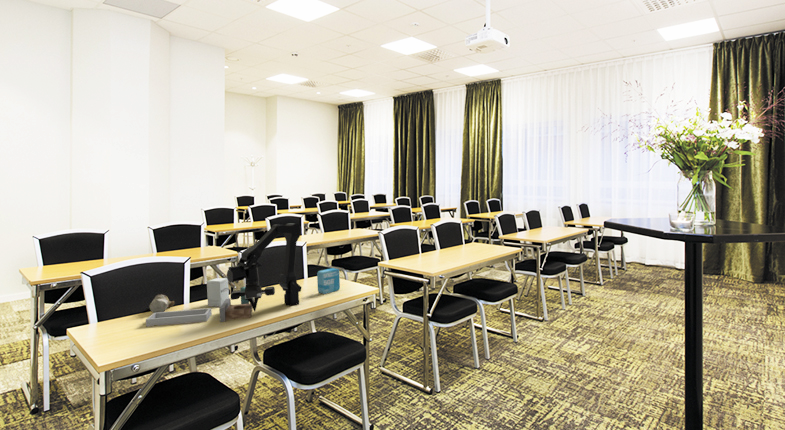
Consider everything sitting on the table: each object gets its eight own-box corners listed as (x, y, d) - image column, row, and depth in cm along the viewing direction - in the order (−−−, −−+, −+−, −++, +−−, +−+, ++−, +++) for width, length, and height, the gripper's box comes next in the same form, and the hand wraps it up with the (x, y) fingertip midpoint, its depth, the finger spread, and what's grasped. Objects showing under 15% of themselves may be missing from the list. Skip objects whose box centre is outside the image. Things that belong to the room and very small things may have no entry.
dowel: (249, 306, 203) (248, 286, 202) (248, 308, 199) (247, 288, 199) (241, 307, 202) (240, 287, 201) (240, 309, 199) (239, 288, 198)
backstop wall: (231, 310, 196) (230, 298, 196) (225, 321, 181) (224, 307, 180) (226, 311, 196) (225, 298, 196) (220, 322, 180) (219, 308, 180)
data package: (323, 294, 222) (322, 272, 221) (317, 293, 225) (316, 271, 224) (340, 290, 231) (339, 268, 230) (334, 288, 234) (333, 267, 233)
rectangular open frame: (211, 314, 192) (211, 308, 192) (206, 321, 182) (206, 314, 182) (154, 319, 187) (153, 312, 187) (146, 326, 177) (145, 319, 177)
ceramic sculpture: (143, 297, 192) (151, 291, 206) (144, 316, 192) (152, 309, 206) (169, 295, 195) (175, 289, 209) (170, 313, 195) (176, 306, 209)
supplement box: (221, 306, 204) (219, 281, 203) (207, 306, 206) (206, 281, 205) (229, 302, 211) (228, 277, 210) (216, 302, 213) (215, 277, 212)
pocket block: (252, 311, 195) (252, 303, 195) (249, 318, 185) (249, 309, 185) (229, 313, 193) (229, 305, 193) (225, 320, 183) (225, 311, 183)
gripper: (227, 284, 180) (230, 319, 181) (271, 279, 184) (274, 313, 185) (231, 278, 191) (234, 312, 192) (273, 274, 195) (276, 306, 196)
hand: (254, 311), depth 191 cm, fingers closed
